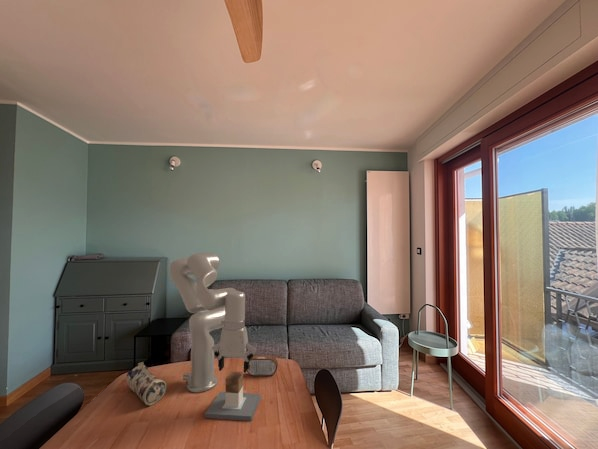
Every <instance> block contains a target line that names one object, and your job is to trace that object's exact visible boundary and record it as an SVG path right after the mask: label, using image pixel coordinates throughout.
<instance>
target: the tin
mask: <svg viewBox="0 0 598 449" xmlns="http://www.w3.org/2000/svg"><path fill="white" fill-rule="evenodd" d="M278 368H279V362H278V360H277V358H275V357H274V356H271V355H253V357H252V358H251V359H250V360H249V369H248V370H247V371H246V373H248V374H249V375H250V376H255V377H271V376H274V375H275V374H276V373H277V370H278Z"/></svg>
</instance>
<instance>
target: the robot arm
mask: <svg viewBox="0 0 598 449" xmlns="http://www.w3.org/2000/svg"><path fill="white" fill-rule="evenodd" d="M219 267H220V259H219V256H218V255H217V254H216V253H213V252H206V253H205V252H204V253H194V254H191V255H190V256H189V257H185V258H183V257H182V258H178V259H175V260H173V261H172V262H171V263H170V264H169V268H168V271H169V277H170V279H171V281H172V284H174V287H176V289H177V290H178V293H179V295H180V297H181V299H182V302H183V304H184V307H185V309H186V310H187V312H189V313H190V314H191V313H192V315H191V316H190V318H189V321H188V322H189V323H188V326H189V331H190V342H191V343H190V344H191V345H190V350H191V352H190V353H191V354H190V372H184V373H183V374H182V381H187V383H186V389H187V390H188V391H189V392H191V393H203V392H207V391H209V390H211V389H213V388H214V387H216V386H217V384H218V380H219V379H218V377H217V376H216V375H215V357H216V359H217V361H218V363H217V364H218V365H217V367H218V371H220V372H221V371H222V370H223V368H225V357H226V358H227V357H228V358H236V359H237V358H243V360H244V361H243V374H244V373H247V370H248V369H249V360H250V359H251V358H252V357H253V356H255V354H256V352H257V347H255V346H254V345H252V344H250V343H249V338H248V330H247V327H246V326H245V323H246V321H245V320H246V319H245V318H246V293H245V292H243V291H241V290H237V289H236V288H233V287H226V288H219V289H213V288H212V289H211V288H209V286H211V285H212V284H213V283H214V282H215V281H216V280H217V278H218V272H217V270H218V269H219ZM190 276H194V277H195V279H196V280H197V281H195V280H194V278H191V277H190ZM208 288H209V289H208ZM220 329H221V334H220V337H219V338H220V339H219V342H218V343H216V344H215V341H214V340H215V339H214V338H213V336H212V335H211V334H210V333H211V332H213V331H216V330H220ZM248 350H249V351H251V352H250V353H249V352H248Z"/></svg>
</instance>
